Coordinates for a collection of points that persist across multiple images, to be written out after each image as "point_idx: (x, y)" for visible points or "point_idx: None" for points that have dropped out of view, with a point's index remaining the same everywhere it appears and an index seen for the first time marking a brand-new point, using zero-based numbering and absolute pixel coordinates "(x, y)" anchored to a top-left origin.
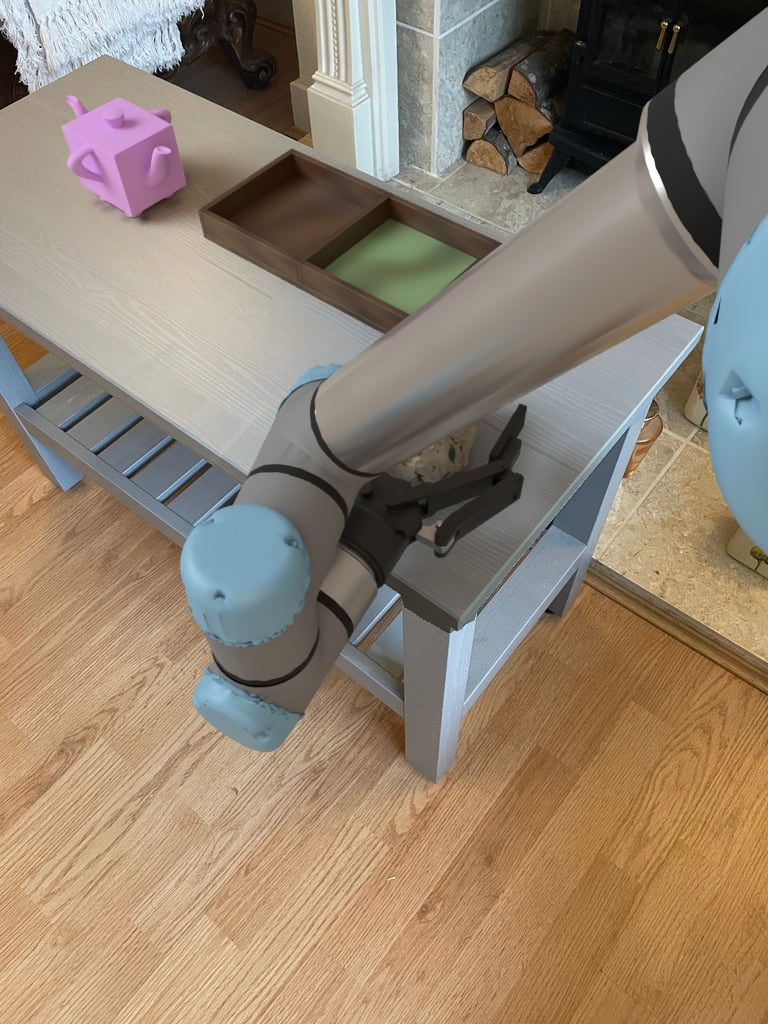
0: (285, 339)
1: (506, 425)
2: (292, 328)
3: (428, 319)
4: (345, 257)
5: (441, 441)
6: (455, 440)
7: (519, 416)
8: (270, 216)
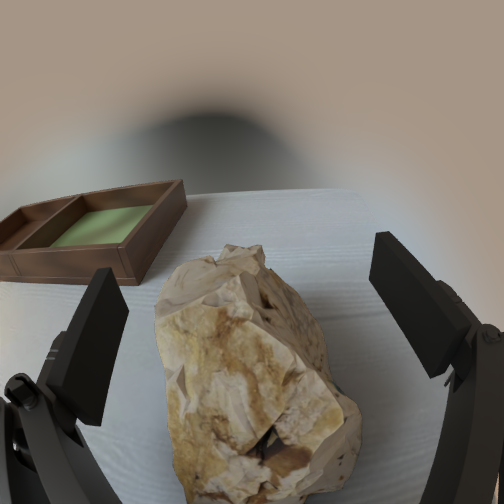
0: (7, 330)
1: (408, 268)
2: (13, 317)
3: None
4: (55, 244)
5: (330, 388)
6: (316, 365)
7: (401, 247)
8: (6, 247)
